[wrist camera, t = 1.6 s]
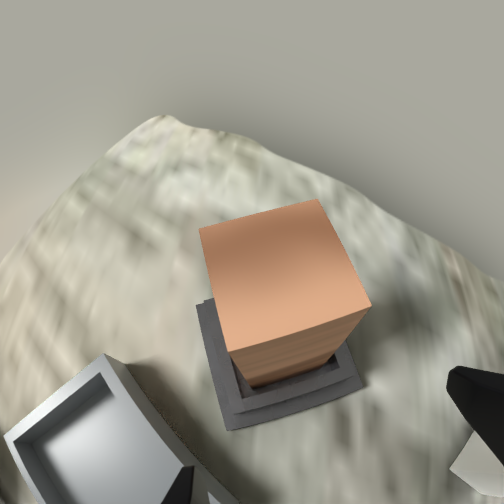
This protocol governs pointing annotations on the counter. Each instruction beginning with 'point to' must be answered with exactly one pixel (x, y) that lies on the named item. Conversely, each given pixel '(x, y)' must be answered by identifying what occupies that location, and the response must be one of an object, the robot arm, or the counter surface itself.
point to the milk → (480, 467)
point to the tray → (102, 444)
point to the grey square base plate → (275, 395)
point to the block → (282, 290)
